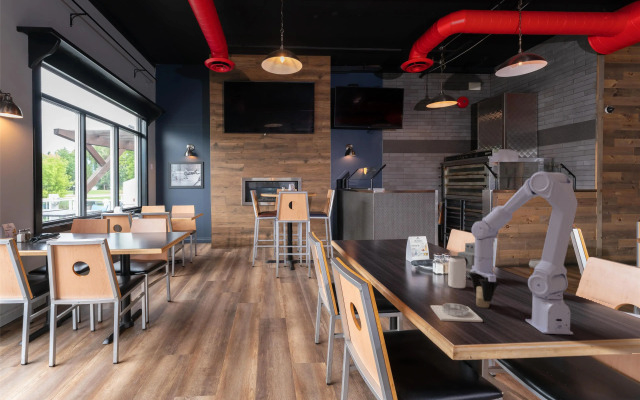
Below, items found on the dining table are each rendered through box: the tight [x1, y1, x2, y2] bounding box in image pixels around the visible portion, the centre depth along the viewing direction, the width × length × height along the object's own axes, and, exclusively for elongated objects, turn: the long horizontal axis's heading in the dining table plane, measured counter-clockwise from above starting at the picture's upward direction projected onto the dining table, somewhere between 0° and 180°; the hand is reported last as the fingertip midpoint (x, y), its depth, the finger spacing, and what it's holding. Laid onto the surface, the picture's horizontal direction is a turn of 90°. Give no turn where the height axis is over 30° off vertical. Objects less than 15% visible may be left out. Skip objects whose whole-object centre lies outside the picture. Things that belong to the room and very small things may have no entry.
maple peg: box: [475, 286, 490, 309], centre depth 117 cm, size 4×4×6 cm
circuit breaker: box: [457, 242, 486, 280], centre depth 154 cm, size 8×14×15 cm, turn 115°
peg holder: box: [430, 302, 483, 323], centre depth 108 cm, size 12×12×2 cm
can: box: [447, 255, 467, 290], centre depth 139 cm, size 6×6×12 cm
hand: (482, 297), depth 117 cm, fingers open, 7 cm apart
